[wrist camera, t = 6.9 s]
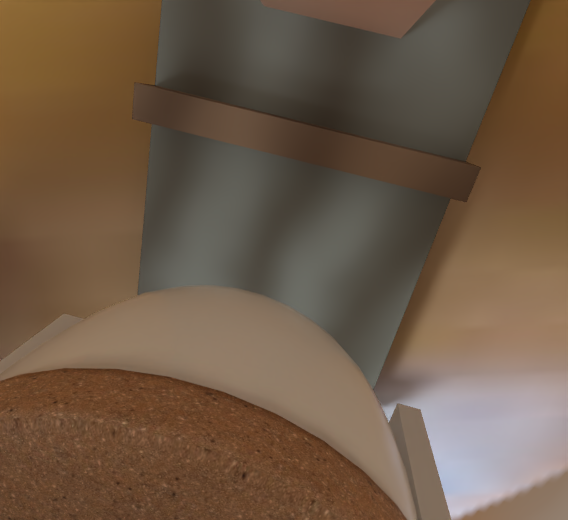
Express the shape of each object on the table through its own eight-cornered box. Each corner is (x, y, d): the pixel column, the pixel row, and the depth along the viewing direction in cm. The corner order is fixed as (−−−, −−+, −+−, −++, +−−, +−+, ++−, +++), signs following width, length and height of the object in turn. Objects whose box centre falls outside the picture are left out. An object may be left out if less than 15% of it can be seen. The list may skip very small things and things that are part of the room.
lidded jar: (327, 510, 16) (317, 986, 7) (86, 427, 16) (-209, 803, 7) (446, 298, 12) (748, 815, 3) (121, 186, 12) (-469, 394, 3)
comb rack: (142, 357, 26) (114, 391, 23) (213, -393, 13) (175, -553, 10) (355, 414, 26) (358, 458, 22) (637, -305, 13) (738, -445, 10)
